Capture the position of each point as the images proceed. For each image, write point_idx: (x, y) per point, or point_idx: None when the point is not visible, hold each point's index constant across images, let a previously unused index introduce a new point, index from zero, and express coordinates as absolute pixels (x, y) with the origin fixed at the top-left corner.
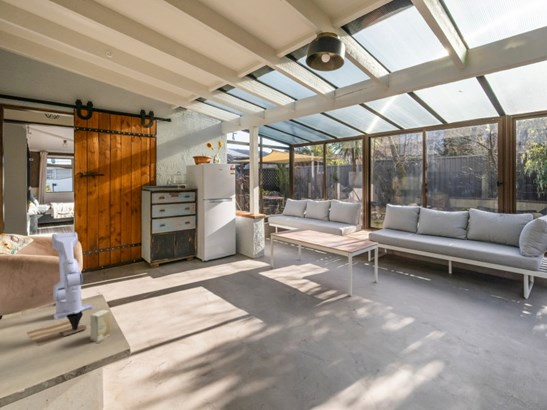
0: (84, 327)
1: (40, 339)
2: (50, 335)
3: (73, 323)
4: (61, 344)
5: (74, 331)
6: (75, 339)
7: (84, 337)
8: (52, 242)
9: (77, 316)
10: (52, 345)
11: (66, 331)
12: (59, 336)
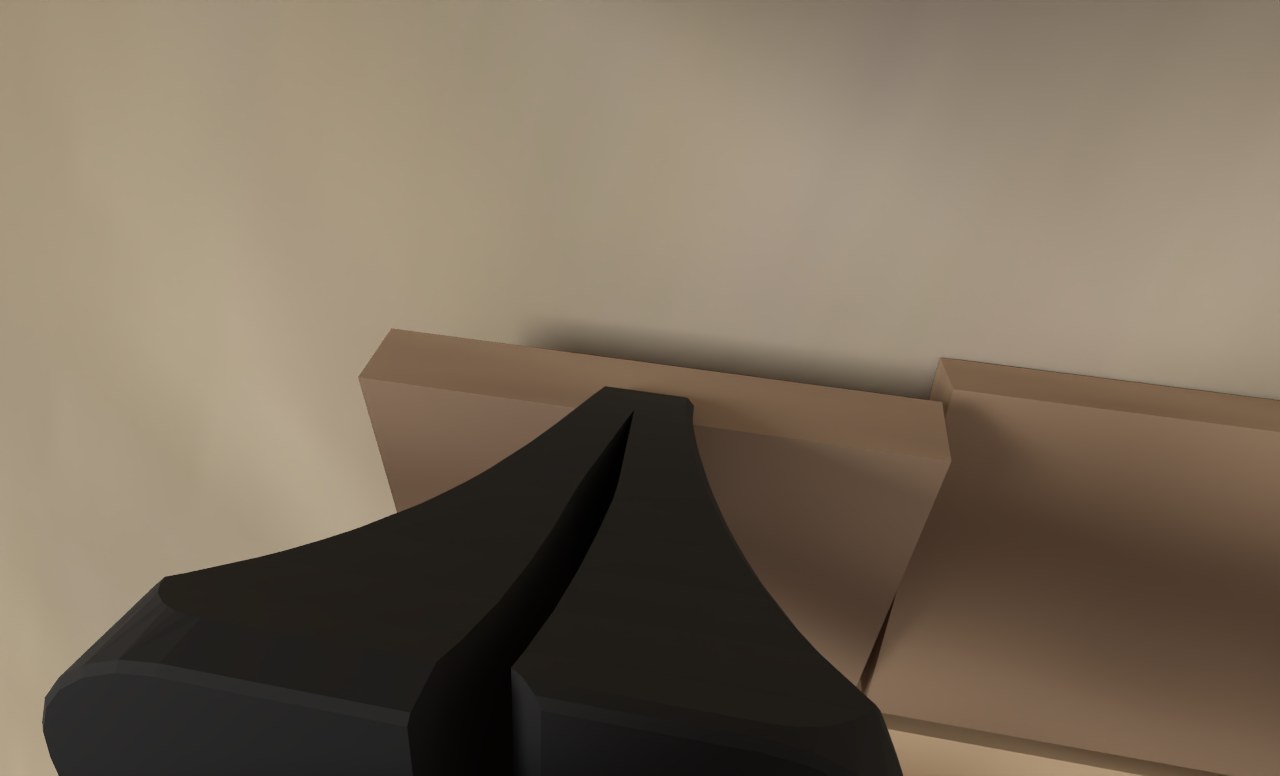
0: (418, 363)
1: (1277, 720)
2: (1047, 712)
3: (683, 510)
4: (1099, 178)
5: (679, 385)
6: (751, 150)
7: (558, 58)
8: None
9: (417, 638)
10: (1240, 321)
11: (822, 534)
12: (974, 519)
